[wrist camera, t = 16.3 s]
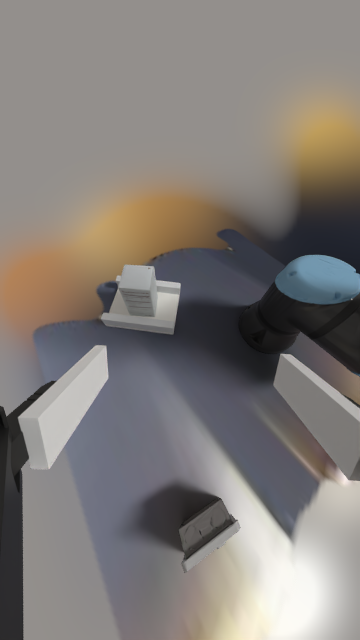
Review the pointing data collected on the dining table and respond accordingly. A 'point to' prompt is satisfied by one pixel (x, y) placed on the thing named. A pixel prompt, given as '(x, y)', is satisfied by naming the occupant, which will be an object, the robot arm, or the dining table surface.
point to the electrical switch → (206, 532)
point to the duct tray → (158, 324)
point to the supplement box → (139, 290)
